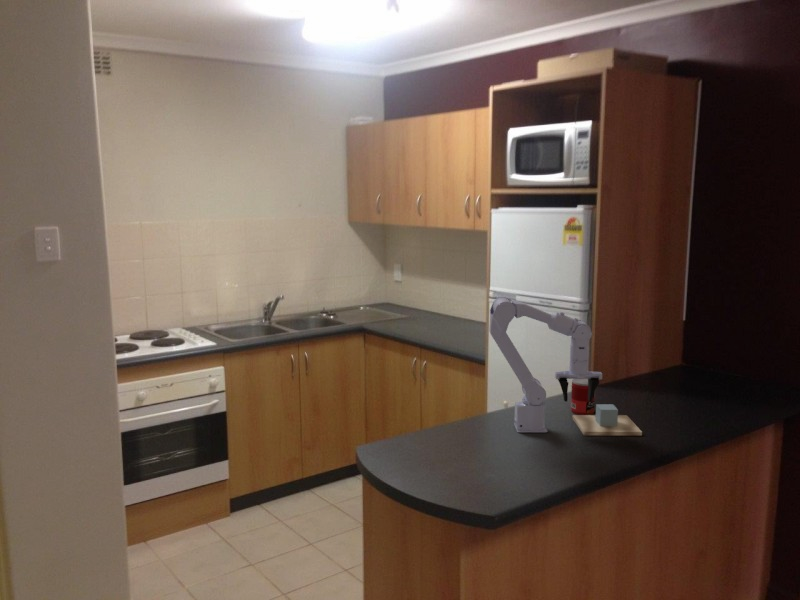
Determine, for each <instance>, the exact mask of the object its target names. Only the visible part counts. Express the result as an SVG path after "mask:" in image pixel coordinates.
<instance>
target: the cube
mask: <svg viewBox="0 0 800 600" xmlns="http://www.w3.org/2000/svg"><path fill="white" fill-rule="evenodd" d="M595 415H596V420H595V421H596V422H597V423H598V424H599V426H617V422H618V415H619V409H618V408H617V407H616V405H614V404H610V403H609V404H605V403H603V404H599V403H598V404H597V403H595Z"/></svg>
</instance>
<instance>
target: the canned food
mask: <svg viewBox="0 0 800 600" xmlns="http://www.w3.org/2000/svg"><path fill="white" fill-rule="evenodd" d="M570 395H571V396H570V397H571V398H570V399H571V400H570V410H571V412H572V413H573V414H574V415H594V412H595V409H596V391H595V392H594V394H593V397H592V401H591V402H589V401H588V379H571V394H570Z"/></svg>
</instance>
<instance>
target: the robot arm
mask: <svg viewBox="0 0 800 600" xmlns="http://www.w3.org/2000/svg"><path fill="white" fill-rule="evenodd" d="M522 317H526V318H530V319H533V320H536V321H538V322H541V323H544V324H547V326H548V329H549V330H551V331H554V332H557V333H559V334H561V335H565V336H567V337H570V345H569V346H570V348H569V349H570V351H569V370H566V371H564V370H563V371H555V372H554V378H555V380H557V381H558V382H559V385H560V388H561V392H562V394H563V395H562V396H563V401H564V402H568V399H569V397H568V389H569V381H568V380H569V379H570V380H573V379H588V401H589V402H591V401H592V397H593V394H594V392H595V393H596V389H597V388H598V386H599V384H600V380H602V379H603V373H602V372H601V371H592V370H591V371H589V358H590V345H589V344H590V339H591V338H592V336H593V332H592V330H591V329H592V328H591V327H590V325H588V324H587V323H585V322H584V321H583V320H581V319H579V318H577V317H574V318H573V317H570V316H568V315H565V313H564V312H562V311H559V312H557V311H555V312H553V313H548V312H546V311H544V310H541V309H539V308H537V307H534V306H532V305H529V304H527V303H524V302H522V301H519V300H516V299H512V298H511V299H509V298H507V297H506V296H505V297H504V296H499V297H497V298H496V299H495V300H494V301H493V302H492V304H491V307H490V309H489V333H490V336H491V337H492V339H493V340H494V342H495V344H496V345H497V347H498V348H499V350H500V352H501V354H503V356H504V358H505V360H506V362H507V363H508V365H509V366H510V368H511V370H512V372H513V373H514V375H515V376H516V378H517V379H518V381H519V383H520V384H521V389H522V393H523V394H524V396H523V397H522V398H521V399H522V400H521V401H517V402H515V403H514V423H513V425H514V427H515V429H516V433H548V429H547V428H546V426H545V419H546V417H545V414H546V399H547V391H546V390H545V388H544V387H543V386H542V383H541V381H540V380H539V379H537V378H535V377H534V375H532V373H531V371H530V369H529V368H528V366H527V365H526V363H525V361H524V359H523V358H522V356H521V355H520V353H519V351H518V349H517V348H516V346H515V345H514V343H513V341H512V340H511V338H510V337H509V335H508V333H507V331H508V327H509V324H510V323H511V321H512V320H513V319H514V318H516V319H519V318H522Z"/></svg>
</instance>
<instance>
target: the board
mask: <svg viewBox="0 0 800 600" xmlns="http://www.w3.org/2000/svg"><path fill="white" fill-rule="evenodd" d="M572 420H573V421H574V423H575V424H576V426H577V427H578V429H579V430H580V432H581V433H582V435H583V436H639V437H640V436H643V431H642V430H641V429H640V428H639V427H638V426H637V425H636V423H634V421H633V420H631V418H630V417H629V416H628V415H626V414H625V415H624V414H618V422H617V426H599V424H598V423H597V422H596V421H595V420H596V414H591V415H579V414H572Z"/></svg>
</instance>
